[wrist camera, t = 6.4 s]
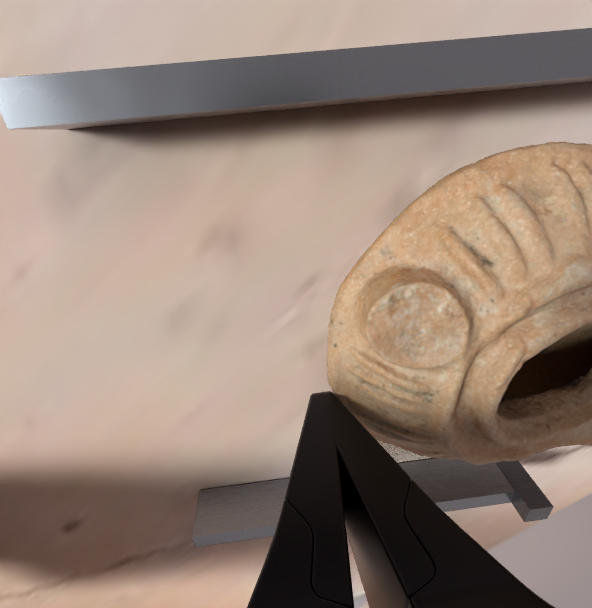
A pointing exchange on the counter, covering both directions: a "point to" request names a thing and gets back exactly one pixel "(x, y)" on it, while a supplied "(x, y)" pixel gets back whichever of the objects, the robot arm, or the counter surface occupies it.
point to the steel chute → (298, 94)
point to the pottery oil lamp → (476, 313)
